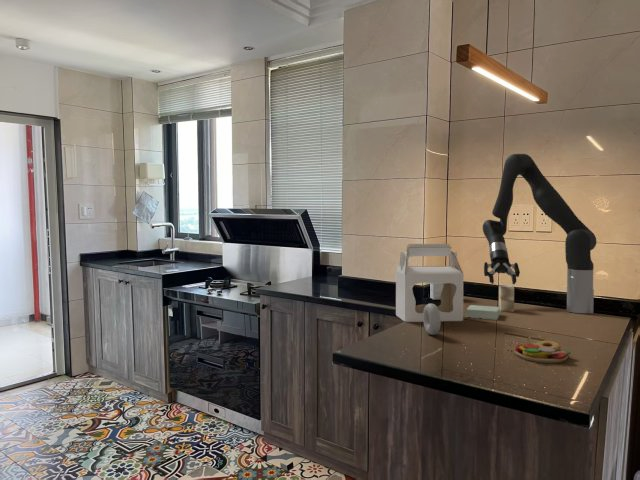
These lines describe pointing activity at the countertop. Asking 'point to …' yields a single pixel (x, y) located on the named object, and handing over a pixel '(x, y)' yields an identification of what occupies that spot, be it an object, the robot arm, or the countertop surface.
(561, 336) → the countertop surface
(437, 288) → the supplement box
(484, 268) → the robot arm
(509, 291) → the maple block
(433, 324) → the donut
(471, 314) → the base slab
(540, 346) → the toy food set
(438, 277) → the gable box
